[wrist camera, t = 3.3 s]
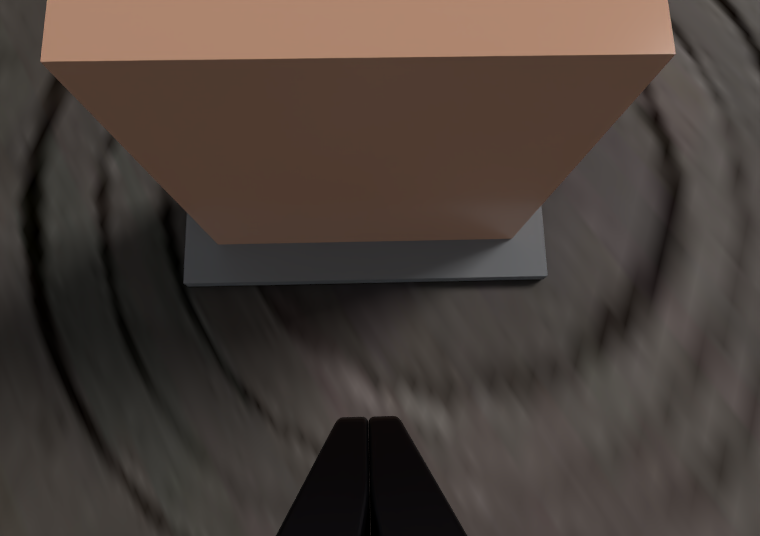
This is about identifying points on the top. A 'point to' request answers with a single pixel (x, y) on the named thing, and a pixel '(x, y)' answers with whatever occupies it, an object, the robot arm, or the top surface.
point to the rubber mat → (364, 260)
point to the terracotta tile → (357, 105)
